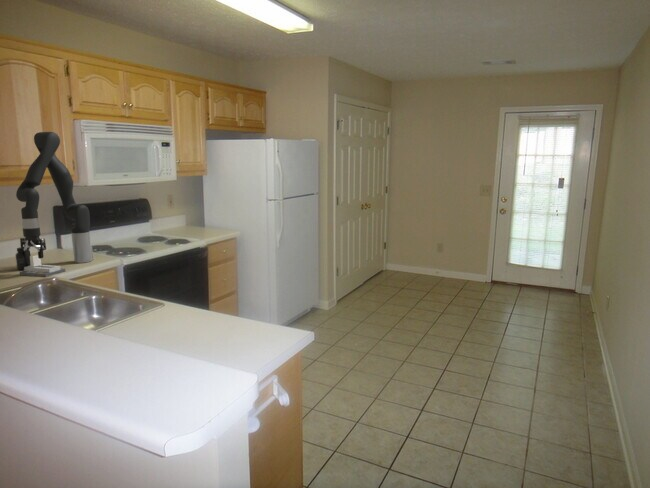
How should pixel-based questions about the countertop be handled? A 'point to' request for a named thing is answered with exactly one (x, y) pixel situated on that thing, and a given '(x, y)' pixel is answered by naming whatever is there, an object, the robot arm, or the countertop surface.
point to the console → (42, 270)
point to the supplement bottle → (22, 259)
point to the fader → (35, 261)
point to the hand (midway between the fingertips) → (34, 257)
